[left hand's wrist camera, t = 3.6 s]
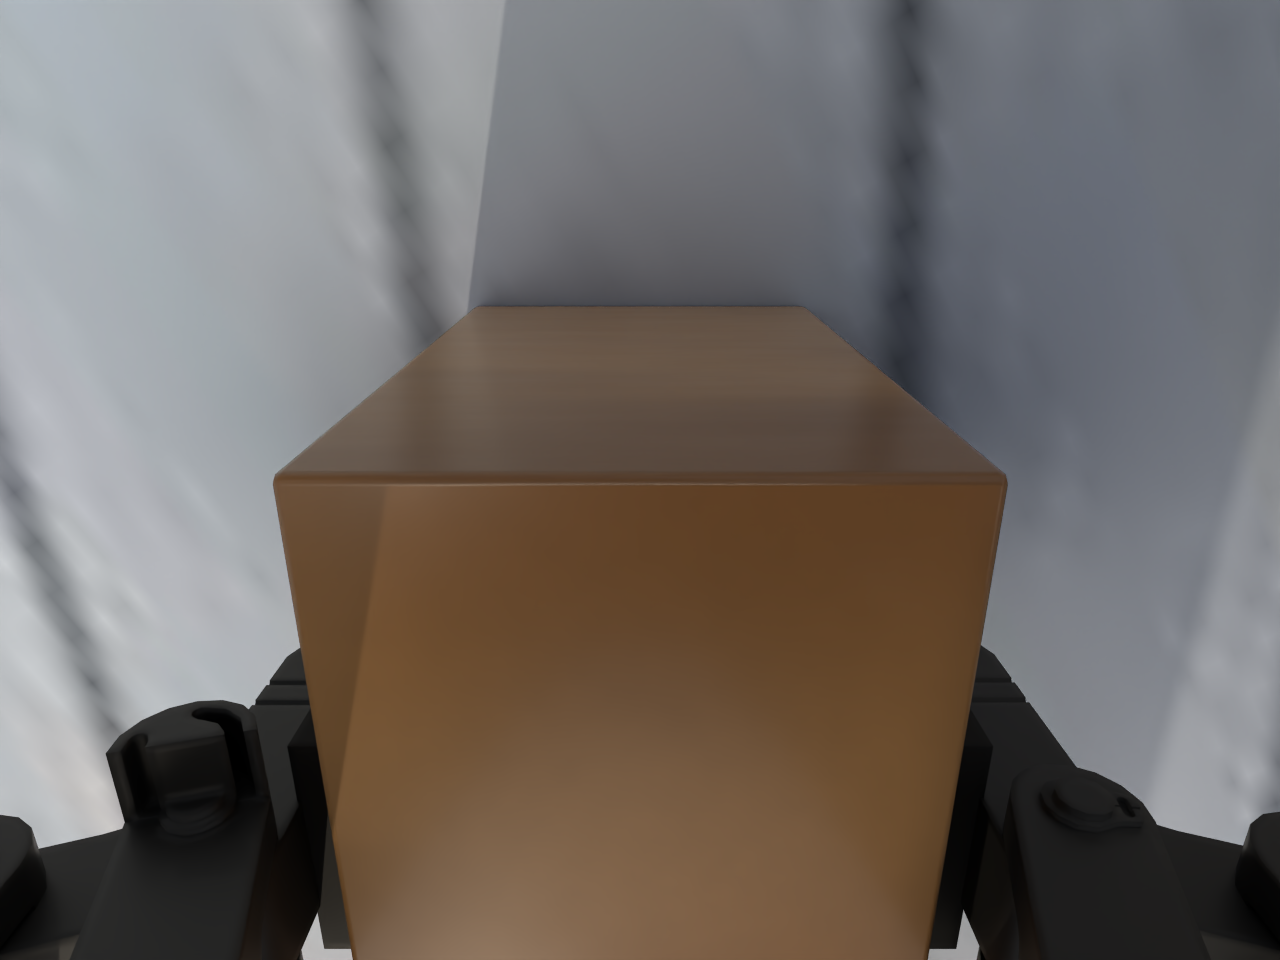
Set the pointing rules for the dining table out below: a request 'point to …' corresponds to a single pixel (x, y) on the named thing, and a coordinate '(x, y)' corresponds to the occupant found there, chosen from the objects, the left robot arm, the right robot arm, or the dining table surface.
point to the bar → (640, 640)
